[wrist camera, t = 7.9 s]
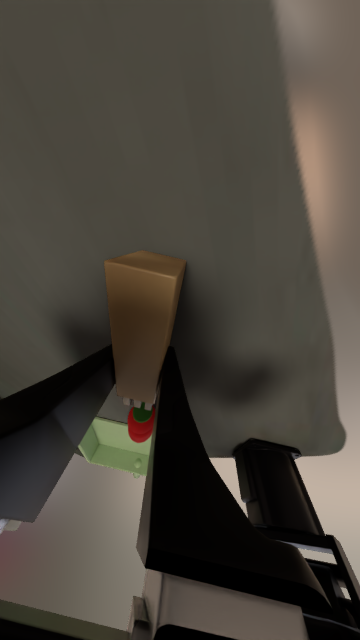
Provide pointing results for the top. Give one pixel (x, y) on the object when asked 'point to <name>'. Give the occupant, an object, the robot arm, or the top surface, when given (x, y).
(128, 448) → the tray
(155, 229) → the top surface
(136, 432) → the strawberry
